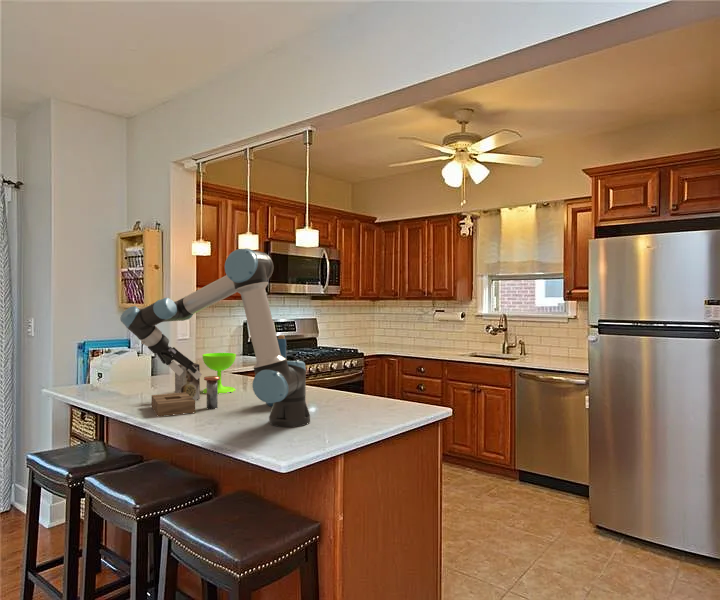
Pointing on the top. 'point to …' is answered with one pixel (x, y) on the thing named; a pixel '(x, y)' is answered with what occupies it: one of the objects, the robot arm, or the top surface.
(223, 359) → the wineglass
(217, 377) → the metal pin
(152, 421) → the top surface
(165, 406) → the walnut socket block
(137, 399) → the top surface
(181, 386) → the coffee box
